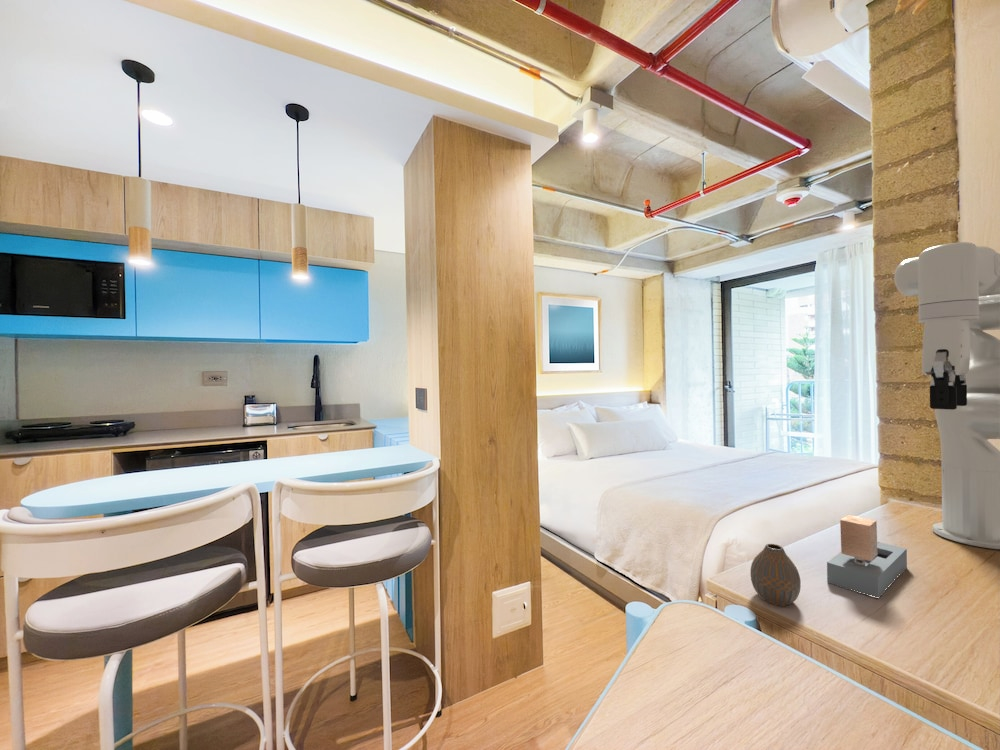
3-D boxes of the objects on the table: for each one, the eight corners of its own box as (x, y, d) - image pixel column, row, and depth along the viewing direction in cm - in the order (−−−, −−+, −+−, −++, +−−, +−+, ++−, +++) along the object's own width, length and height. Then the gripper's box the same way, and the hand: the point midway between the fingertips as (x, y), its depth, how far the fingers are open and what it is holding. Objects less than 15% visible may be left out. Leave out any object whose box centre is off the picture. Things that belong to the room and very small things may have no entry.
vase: (795, 593, 70) (794, 541, 70) (805, 615, 64) (804, 558, 64) (748, 585, 73) (747, 535, 73) (753, 605, 67) (752, 551, 67)
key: (849, 569, 76) (847, 514, 76) (878, 577, 73) (876, 520, 73) (842, 575, 74) (840, 519, 74) (871, 584, 70) (869, 526, 70)
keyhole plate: (860, 555, 84) (860, 537, 84) (906, 567, 78) (906, 548, 78) (827, 582, 73) (827, 562, 73) (877, 599, 68) (877, 577, 68)
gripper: (929, 318, 84) (930, 403, 84) (907, 313, 74) (908, 409, 74) (986, 313, 78) (987, 405, 78) (970, 307, 68) (971, 412, 68)
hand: (948, 407), depth 76 cm, fingers open, 9 cm apart
